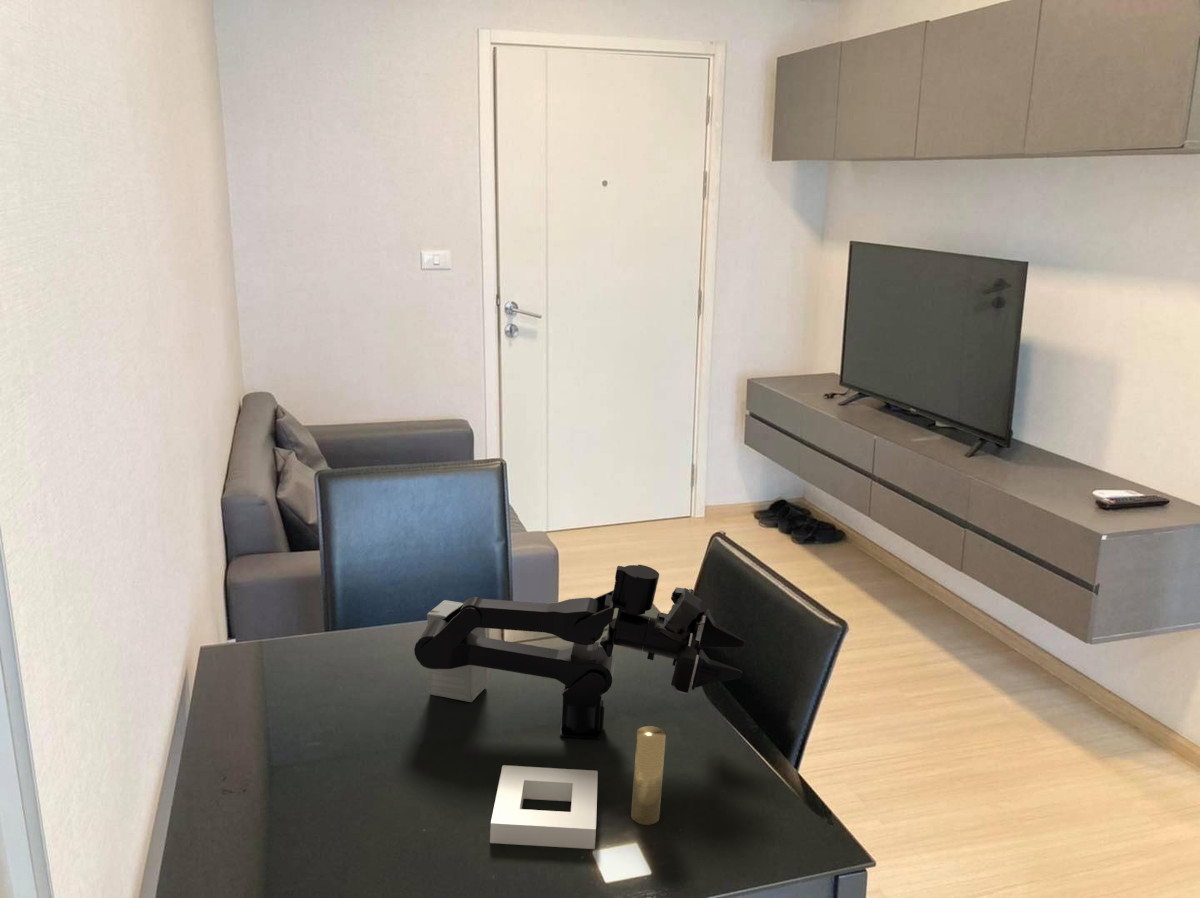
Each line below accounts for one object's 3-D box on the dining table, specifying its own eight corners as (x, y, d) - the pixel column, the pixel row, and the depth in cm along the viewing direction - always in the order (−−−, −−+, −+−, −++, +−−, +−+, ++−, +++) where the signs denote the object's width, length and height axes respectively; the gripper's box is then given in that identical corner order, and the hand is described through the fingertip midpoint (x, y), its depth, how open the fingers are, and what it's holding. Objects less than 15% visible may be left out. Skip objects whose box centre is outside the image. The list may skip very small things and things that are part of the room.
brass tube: (631, 824, 136) (637, 740, 133) (630, 807, 140) (636, 725, 136) (659, 825, 136) (666, 741, 133) (658, 808, 140) (665, 726, 136)
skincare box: (487, 688, 172) (490, 604, 168) (469, 706, 165) (471, 619, 161) (444, 678, 174) (446, 596, 171) (424, 696, 168) (426, 610, 164)
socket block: (490, 842, 130) (490, 823, 129) (501, 783, 143) (502, 765, 143) (594, 849, 130) (595, 829, 129) (596, 789, 143) (597, 770, 143)
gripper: (647, 619, 143) (751, 645, 142) (663, 564, 161) (756, 587, 159) (633, 682, 147) (735, 708, 146) (650, 622, 165) (741, 645, 163)
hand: (742, 658), depth 153 cm, fingers open, 9 cm apart
